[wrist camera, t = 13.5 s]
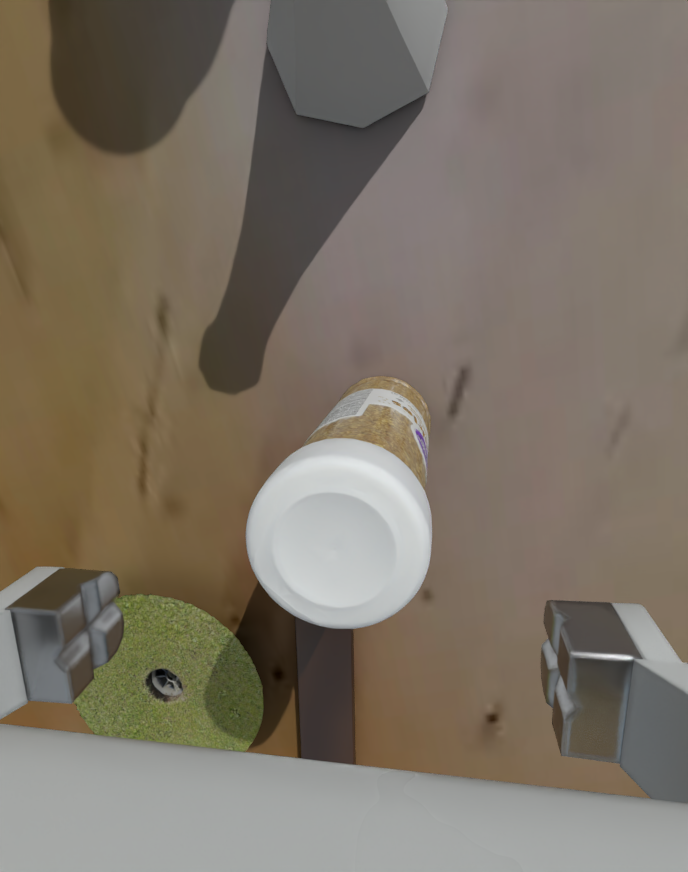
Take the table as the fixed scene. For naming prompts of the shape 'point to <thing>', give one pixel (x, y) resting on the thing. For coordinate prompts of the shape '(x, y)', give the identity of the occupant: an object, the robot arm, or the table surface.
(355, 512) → the sprinkles bottle
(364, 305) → the table surface
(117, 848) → the robot arm
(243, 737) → the green flat disc
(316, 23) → the flask
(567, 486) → the table surface
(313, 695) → the walnut strip
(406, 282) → the table surface
